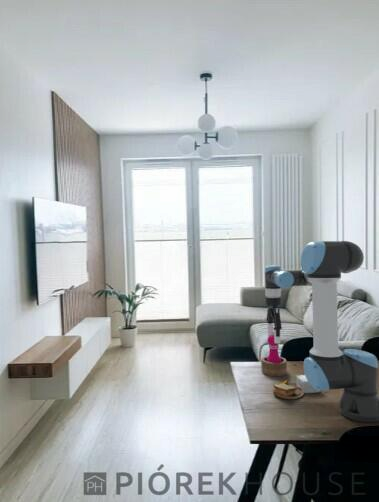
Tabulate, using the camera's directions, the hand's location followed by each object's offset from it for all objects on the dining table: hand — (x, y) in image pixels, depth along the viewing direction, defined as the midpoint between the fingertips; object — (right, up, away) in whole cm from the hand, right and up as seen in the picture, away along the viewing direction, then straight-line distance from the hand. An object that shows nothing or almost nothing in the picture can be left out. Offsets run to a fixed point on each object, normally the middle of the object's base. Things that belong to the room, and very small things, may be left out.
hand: (273, 339), depth 184 cm
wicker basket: (0, -16, +1) cm, 16 cm away
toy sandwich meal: (0, -17, -26) cm, 32 cm away
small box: (+10, -17, -21) cm, 29 cm away
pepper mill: (0, -16, +1) cm, 16 cm away
